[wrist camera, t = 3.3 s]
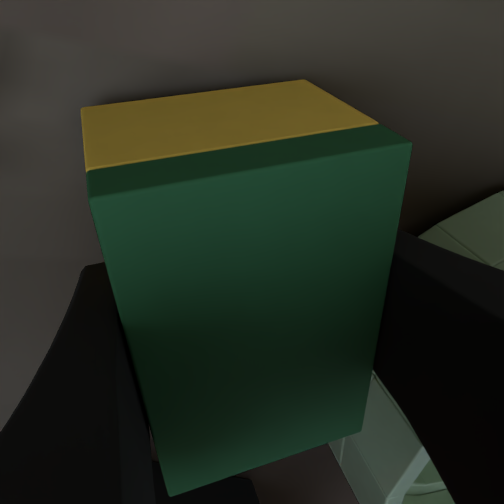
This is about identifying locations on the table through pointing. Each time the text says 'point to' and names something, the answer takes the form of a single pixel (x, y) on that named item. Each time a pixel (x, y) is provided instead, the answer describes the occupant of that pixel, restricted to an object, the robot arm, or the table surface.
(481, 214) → the bowl
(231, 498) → the cleaning product box
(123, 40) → the table surface
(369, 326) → the sponge
